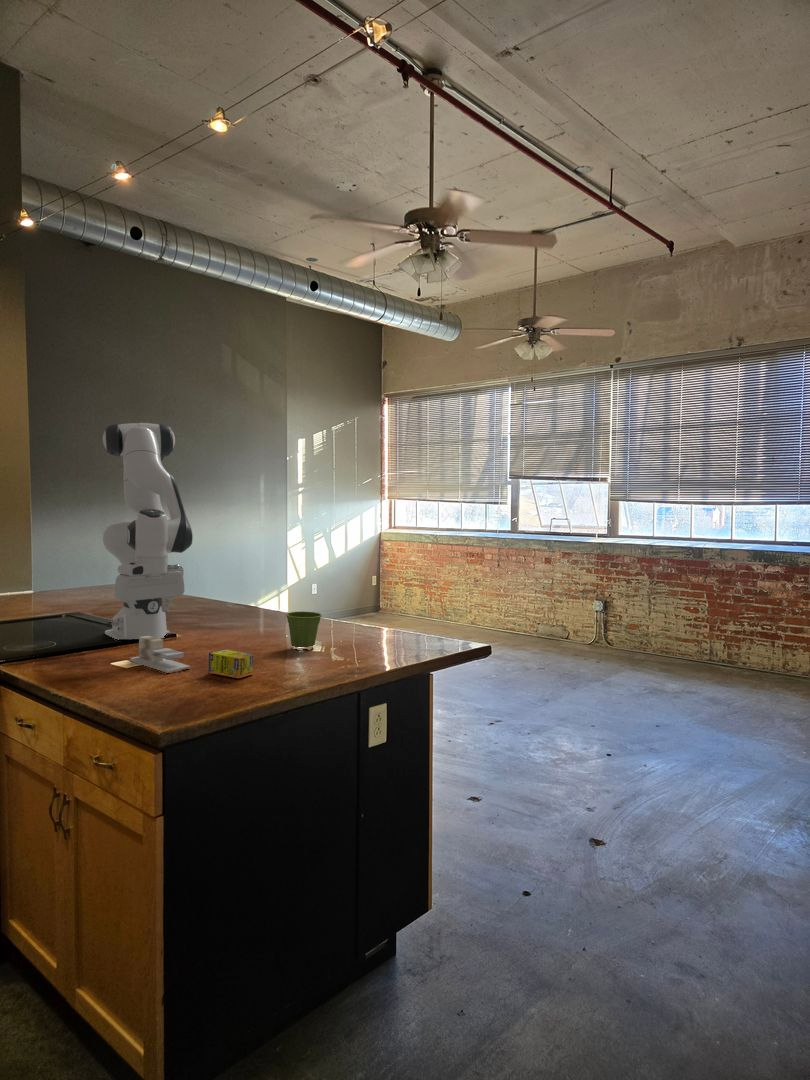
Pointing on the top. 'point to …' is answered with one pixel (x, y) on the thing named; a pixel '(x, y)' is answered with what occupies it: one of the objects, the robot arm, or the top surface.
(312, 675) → the top surface
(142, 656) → the grey elongated block
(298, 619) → the plant pot
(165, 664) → the rest mat
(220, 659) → the supplement box
